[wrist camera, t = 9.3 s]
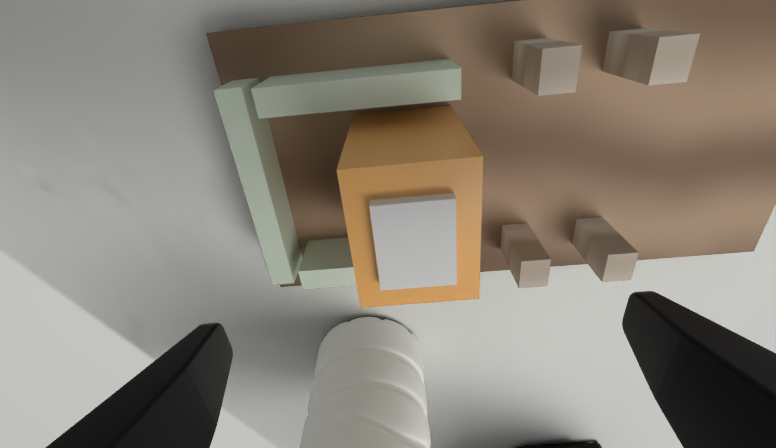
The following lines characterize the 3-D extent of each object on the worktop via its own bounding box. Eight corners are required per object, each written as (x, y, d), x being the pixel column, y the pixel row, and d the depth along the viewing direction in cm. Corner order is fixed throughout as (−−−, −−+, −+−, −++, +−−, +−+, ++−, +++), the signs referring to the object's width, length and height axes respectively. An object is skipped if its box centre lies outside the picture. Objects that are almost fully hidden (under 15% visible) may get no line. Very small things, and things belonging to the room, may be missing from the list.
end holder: (452, 246, 19) (460, 277, 17) (282, 259, 19) (269, 292, 17) (450, 58, 15) (461, 68, 12) (232, 80, 15) (206, 93, 13)
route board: (734, 238, 20) (811, 290, 17) (285, 272, 21) (265, 328, 18) (849, -35, 14) (1010, -49, 11) (218, 31, 15) (165, 39, 12)
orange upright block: (452, 213, 18) (482, 306, 12) (367, 221, 18) (359, 316, 13) (450, 105, 16) (486, 161, 10) (353, 115, 16) (334, 175, 10)
